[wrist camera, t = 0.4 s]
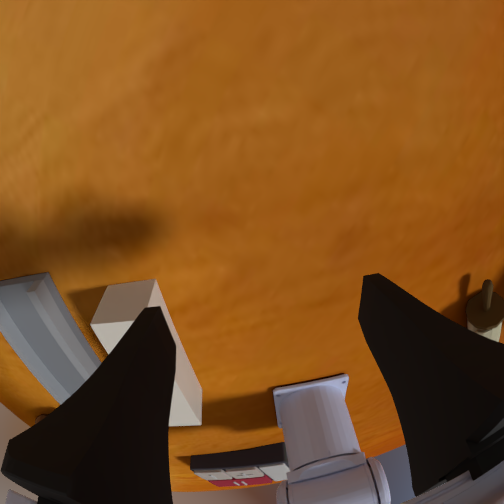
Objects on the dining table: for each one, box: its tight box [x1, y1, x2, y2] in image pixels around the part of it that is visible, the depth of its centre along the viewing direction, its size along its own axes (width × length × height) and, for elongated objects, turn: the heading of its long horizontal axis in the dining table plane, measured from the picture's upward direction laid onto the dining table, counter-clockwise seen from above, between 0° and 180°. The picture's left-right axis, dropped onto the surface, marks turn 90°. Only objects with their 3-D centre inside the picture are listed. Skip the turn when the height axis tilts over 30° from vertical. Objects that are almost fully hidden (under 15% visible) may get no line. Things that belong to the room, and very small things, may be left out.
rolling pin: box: [466, 279, 504, 342], centre depth 29 cm, size 32×6×5 cm, turn 29°
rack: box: [0, 272, 101, 404], centre depth 23 cm, size 18×8×2 cm, turn 7°
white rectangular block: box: [90, 279, 202, 426], centre depth 22 cm, size 14×4×4 cm, turn 7°
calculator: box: [190, 442, 290, 487], centre depth 38 cm, size 11×4×15 cm
